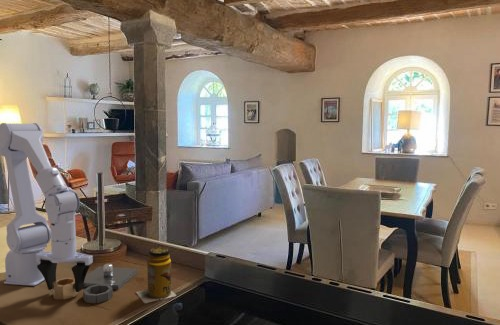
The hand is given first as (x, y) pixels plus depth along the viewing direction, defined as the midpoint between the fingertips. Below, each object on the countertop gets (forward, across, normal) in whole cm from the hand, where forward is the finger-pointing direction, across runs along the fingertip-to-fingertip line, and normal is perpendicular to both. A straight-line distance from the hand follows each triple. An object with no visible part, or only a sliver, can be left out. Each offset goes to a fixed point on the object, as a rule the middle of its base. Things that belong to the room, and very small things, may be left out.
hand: (65, 289), depth 102 cm
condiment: (+2, +23, +4) cm, 23 cm away
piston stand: (+1, +6, +11) cm, 13 cm away
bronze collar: (+1, 0, 0) cm, 1 cm away
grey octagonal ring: (+1, +9, 0) cm, 9 cm away
